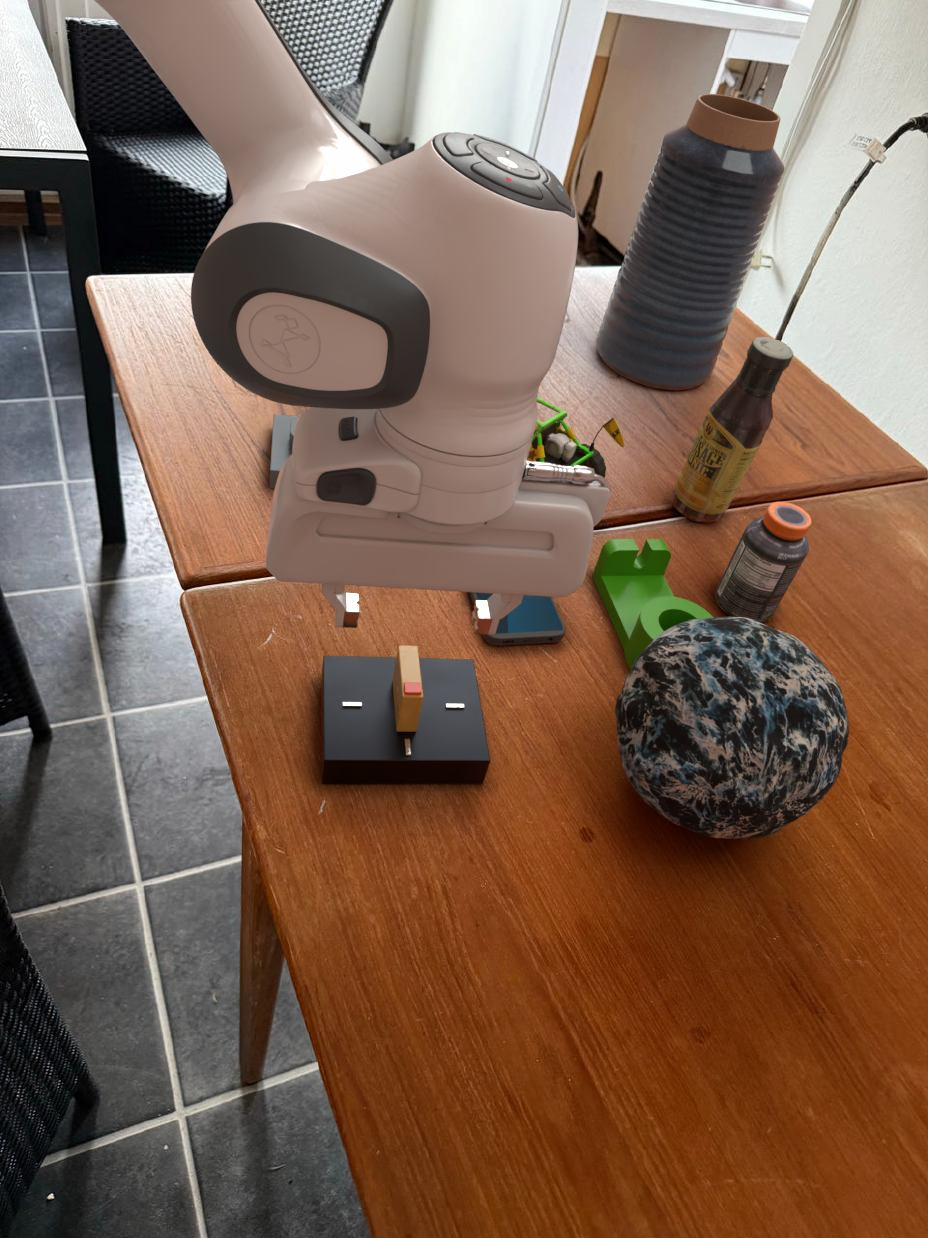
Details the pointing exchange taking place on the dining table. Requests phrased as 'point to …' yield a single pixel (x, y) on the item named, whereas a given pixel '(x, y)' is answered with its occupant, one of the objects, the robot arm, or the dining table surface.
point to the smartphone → (526, 622)
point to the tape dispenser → (640, 593)
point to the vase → (692, 244)
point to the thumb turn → (407, 689)
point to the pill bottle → (765, 563)
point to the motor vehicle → (568, 443)
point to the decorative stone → (730, 727)
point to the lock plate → (366, 724)
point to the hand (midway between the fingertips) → (415, 624)
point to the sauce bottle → (731, 434)
